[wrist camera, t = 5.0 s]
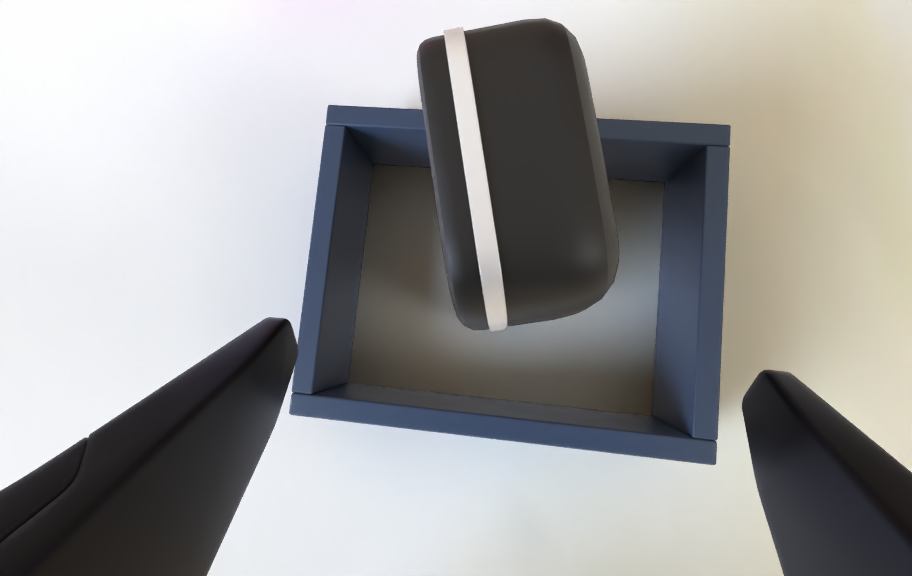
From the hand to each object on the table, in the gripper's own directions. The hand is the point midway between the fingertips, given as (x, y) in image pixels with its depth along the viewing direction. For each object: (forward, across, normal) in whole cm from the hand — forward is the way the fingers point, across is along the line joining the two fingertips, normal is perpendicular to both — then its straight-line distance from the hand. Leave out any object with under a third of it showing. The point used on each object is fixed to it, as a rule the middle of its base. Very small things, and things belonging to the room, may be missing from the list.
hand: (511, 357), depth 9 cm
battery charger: (+11, 0, +5) cm, 12 cm away
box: (+10, 0, +6) cm, 11 cm away
